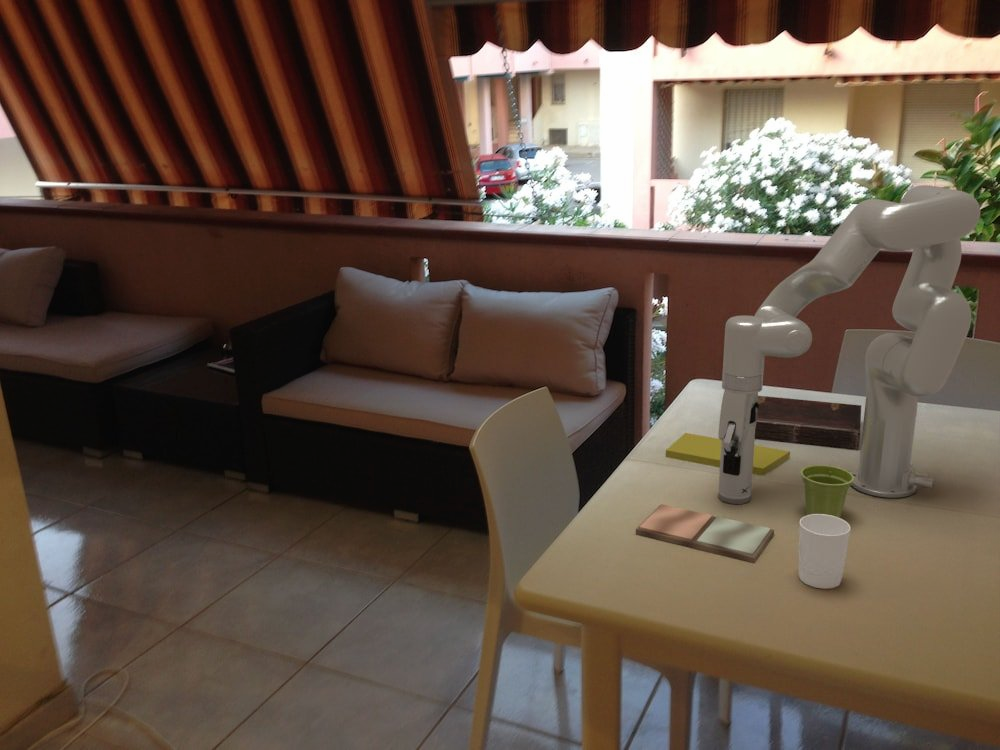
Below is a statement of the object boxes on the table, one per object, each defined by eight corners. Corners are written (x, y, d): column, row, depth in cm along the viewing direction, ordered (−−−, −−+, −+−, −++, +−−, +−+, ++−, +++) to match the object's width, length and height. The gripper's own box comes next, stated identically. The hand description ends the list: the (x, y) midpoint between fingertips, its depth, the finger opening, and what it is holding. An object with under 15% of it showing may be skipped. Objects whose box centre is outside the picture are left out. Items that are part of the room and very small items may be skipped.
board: (773, 534, 170) (774, 527, 169) (754, 562, 160) (754, 555, 160) (660, 509, 181) (660, 502, 180) (635, 534, 171) (635, 527, 171)
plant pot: (812, 501, 183) (815, 460, 180) (858, 516, 176) (862, 473, 174) (788, 517, 177) (791, 474, 174) (835, 532, 170) (839, 489, 168)
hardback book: (725, 438, 218) (727, 417, 216) (736, 412, 234) (737, 393, 233) (858, 452, 208) (860, 431, 206) (859, 425, 224) (861, 405, 223)
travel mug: (753, 505, 181) (759, 409, 176) (718, 503, 183) (723, 407, 177) (751, 492, 187) (757, 398, 181) (718, 490, 189) (723, 396, 183)
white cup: (838, 595, 149) (844, 539, 146) (789, 583, 153) (793, 528, 150) (849, 574, 156) (855, 520, 153) (802, 563, 160) (806, 509, 157)
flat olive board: (665, 459, 206) (774, 480, 194) (665, 450, 206) (774, 470, 194) (685, 441, 216) (789, 460, 204) (685, 432, 215) (790, 451, 203)
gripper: (737, 366, 187) (732, 450, 192) (708, 390, 173) (703, 479, 178) (774, 371, 183) (768, 456, 188) (748, 396, 169) (742, 487, 174)
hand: (736, 467), depth 183 cm, fingers closed on travel mug, 6 cm apart
